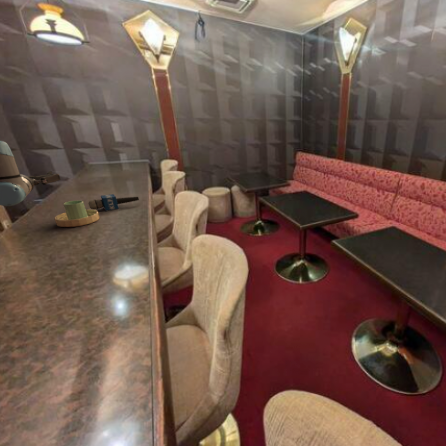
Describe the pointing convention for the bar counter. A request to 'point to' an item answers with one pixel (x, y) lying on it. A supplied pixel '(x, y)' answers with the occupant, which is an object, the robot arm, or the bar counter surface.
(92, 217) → the bowl
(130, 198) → the microphone
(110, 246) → the bar counter surface
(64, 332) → the bar counter surface
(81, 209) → the tumbler
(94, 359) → the bar counter surface
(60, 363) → the bar counter surface
